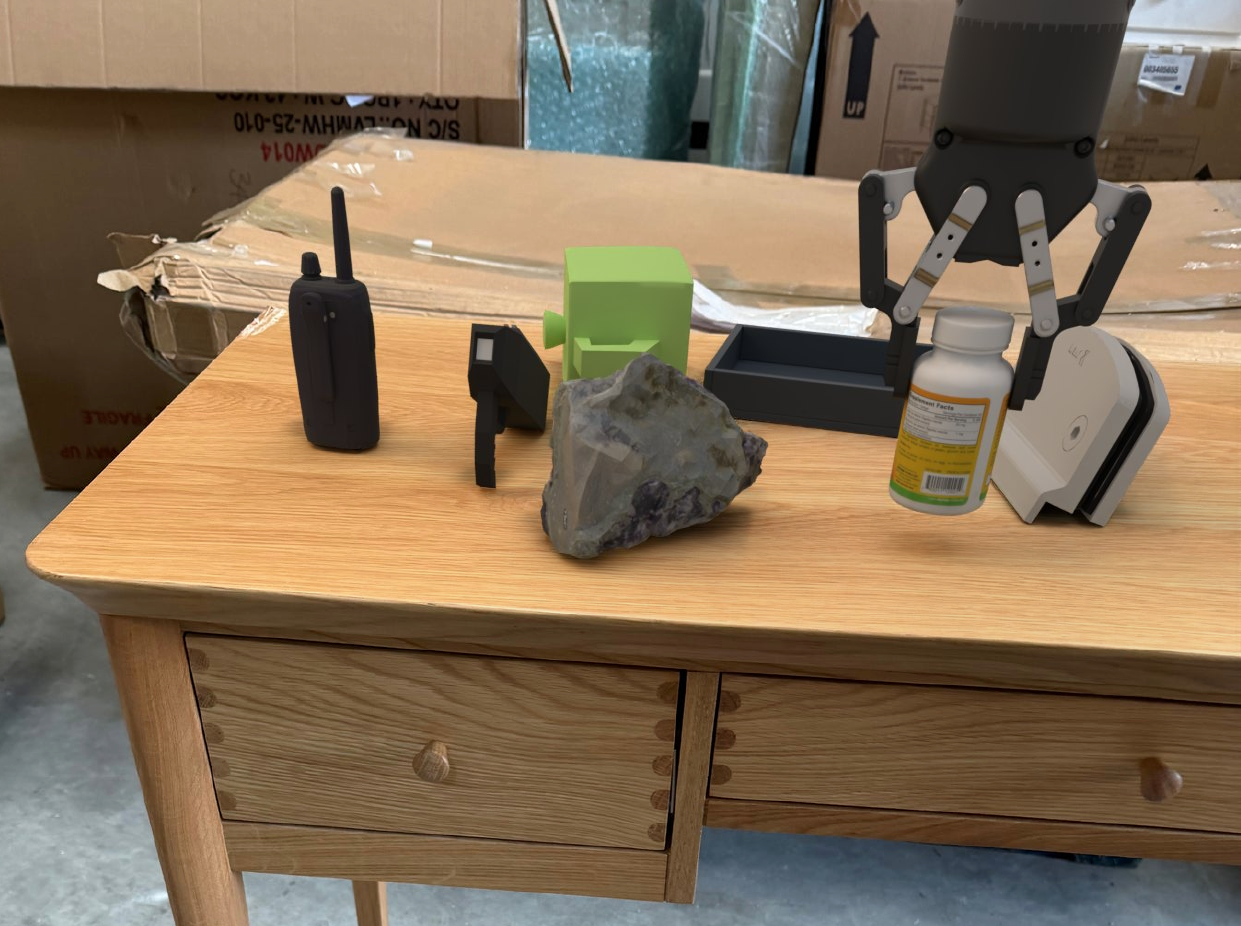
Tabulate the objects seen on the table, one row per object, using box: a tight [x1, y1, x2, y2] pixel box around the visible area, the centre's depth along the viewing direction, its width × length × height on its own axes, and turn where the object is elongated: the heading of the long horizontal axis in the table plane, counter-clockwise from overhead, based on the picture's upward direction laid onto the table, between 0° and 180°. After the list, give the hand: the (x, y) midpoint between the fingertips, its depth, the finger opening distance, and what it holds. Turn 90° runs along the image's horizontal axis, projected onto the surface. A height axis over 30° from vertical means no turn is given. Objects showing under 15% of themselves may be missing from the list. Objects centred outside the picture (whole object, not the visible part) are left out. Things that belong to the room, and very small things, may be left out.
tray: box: [702, 323, 934, 439], centre depth 87 cm, size 17×13×3 cm
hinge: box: [991, 325, 1172, 527], centre depth 75 cm, size 17×5×10 cm, turn 1°
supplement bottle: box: [888, 305, 1016, 517], centre depth 63 cm, size 5×5×10 cm
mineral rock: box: [539, 352, 769, 560], centre depth 65 cm, size 13×11×10 cm
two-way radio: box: [287, 185, 381, 452], centre depth 73 cm, size 6×4×15 cm
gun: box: [467, 323, 551, 490], centre depth 76 cm, size 3×16×10 cm, turn 170°
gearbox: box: [542, 245, 695, 382], centre depth 85 cm, size 18×10×10 cm, turn 2°
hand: (956, 399), depth 63 cm, fingers closed on supplement bottle, 5 cm apart
